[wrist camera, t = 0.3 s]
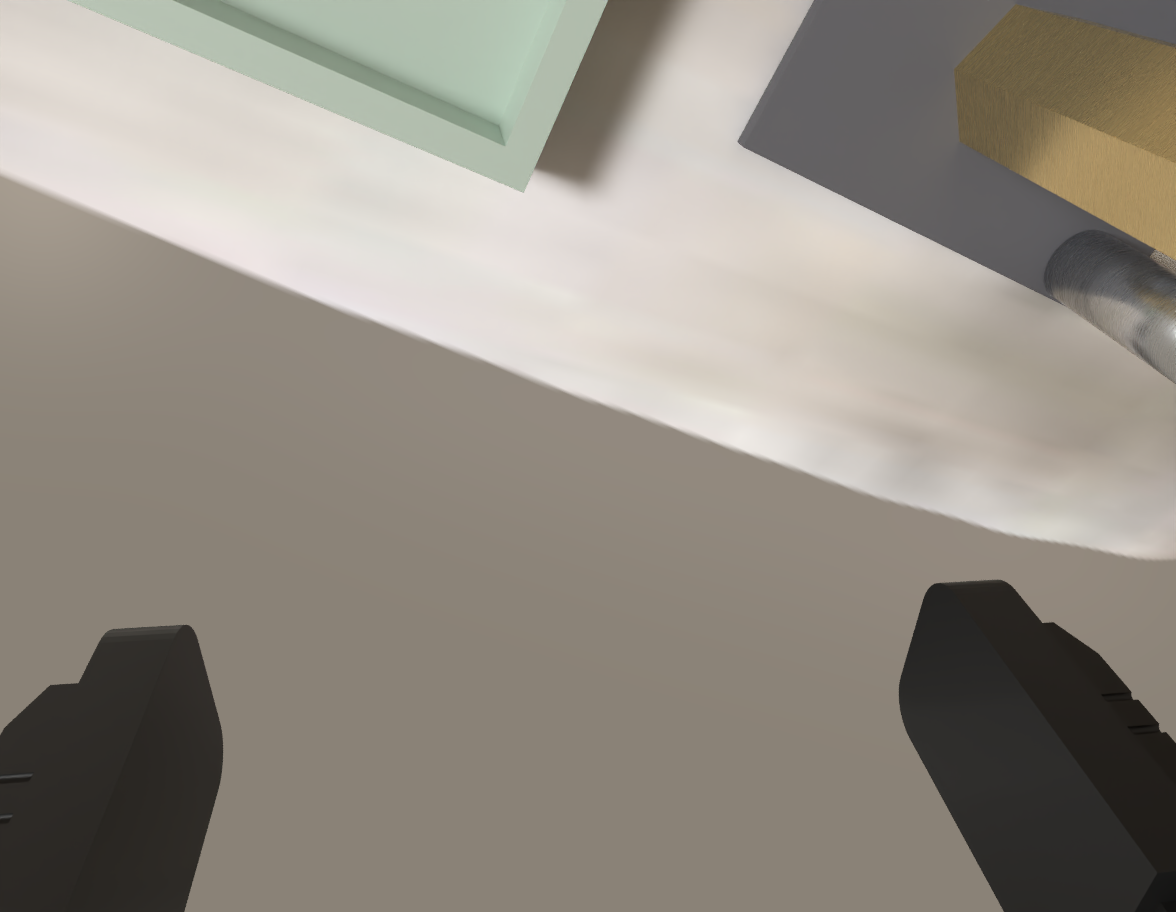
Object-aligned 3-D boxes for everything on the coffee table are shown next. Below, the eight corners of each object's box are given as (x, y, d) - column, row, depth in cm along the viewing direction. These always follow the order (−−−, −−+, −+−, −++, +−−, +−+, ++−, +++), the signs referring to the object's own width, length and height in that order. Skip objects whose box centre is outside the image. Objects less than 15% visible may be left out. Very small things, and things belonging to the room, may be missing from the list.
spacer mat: (1098, -524, 21) (1115, -533, 21) (1461, -148, 28) (1480, -149, 27) (737, 141, 29) (743, 147, 28) (1086, 314, 35) (1096, 321, 35)
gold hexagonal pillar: (992, 180, 31) (1269, 341, 21) (924, 100, 29) (1195, 237, 19) (1111, 63, 29) (1473, 179, 19) (1048, -30, 27) (1416, 46, 17)
